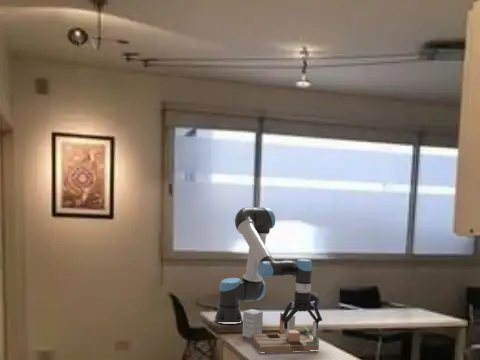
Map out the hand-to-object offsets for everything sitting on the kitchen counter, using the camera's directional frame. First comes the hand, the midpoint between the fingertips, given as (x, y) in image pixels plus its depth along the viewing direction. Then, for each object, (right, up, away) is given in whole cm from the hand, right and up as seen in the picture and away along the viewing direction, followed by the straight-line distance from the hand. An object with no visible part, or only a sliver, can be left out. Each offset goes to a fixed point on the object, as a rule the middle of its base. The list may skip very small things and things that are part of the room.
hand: (300, 335), depth 238 cm
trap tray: (-8, -4, -2) cm, 9 cm away
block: (-4, -2, -1) cm, 4 cm away
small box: (-5, -5, +17) cm, 19 cm away
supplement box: (-23, -4, +12) cm, 26 cm away
